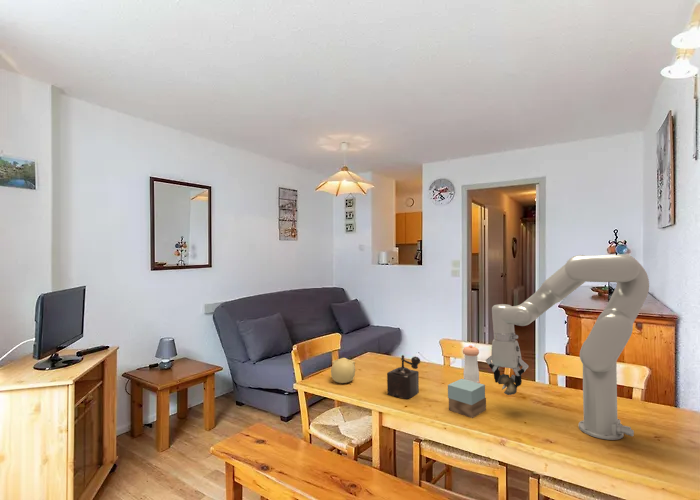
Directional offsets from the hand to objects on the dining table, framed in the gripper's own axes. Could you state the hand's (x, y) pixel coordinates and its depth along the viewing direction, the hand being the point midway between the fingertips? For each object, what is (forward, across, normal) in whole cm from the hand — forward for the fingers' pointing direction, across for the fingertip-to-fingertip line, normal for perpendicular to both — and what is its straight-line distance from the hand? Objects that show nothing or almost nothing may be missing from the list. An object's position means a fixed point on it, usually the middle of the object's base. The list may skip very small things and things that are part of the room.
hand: (507, 383), depth 145 cm
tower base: (+10, +12, +10) cm, 19 cm away
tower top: (+5, +12, +11) cm, 17 cm away
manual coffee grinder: (+9, +38, +14) cm, 41 cm away
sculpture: (+7, +71, +22) cm, 74 cm away
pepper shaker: (+10, +23, -12) cm, 27 cm away
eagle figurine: (+2, -1, +2) cm, 3 cm away
